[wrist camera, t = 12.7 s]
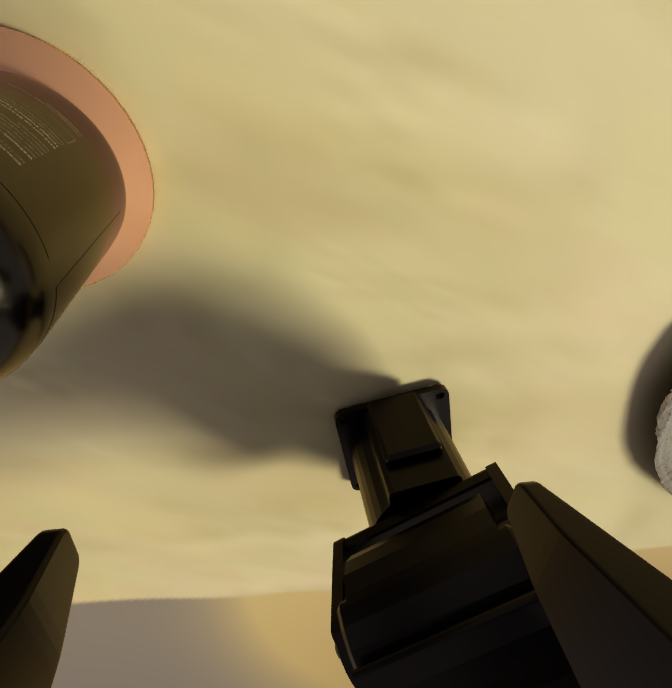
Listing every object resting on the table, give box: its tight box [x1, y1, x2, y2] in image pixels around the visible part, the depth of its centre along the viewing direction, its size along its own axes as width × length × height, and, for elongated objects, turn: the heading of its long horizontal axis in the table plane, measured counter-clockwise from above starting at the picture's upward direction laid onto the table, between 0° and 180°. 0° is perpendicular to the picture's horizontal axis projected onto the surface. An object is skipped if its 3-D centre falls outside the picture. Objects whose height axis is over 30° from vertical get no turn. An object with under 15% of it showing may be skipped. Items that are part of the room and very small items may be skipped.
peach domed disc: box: [0, 26, 154, 287], centre depth 16 cm, size 9×9×1 cm
